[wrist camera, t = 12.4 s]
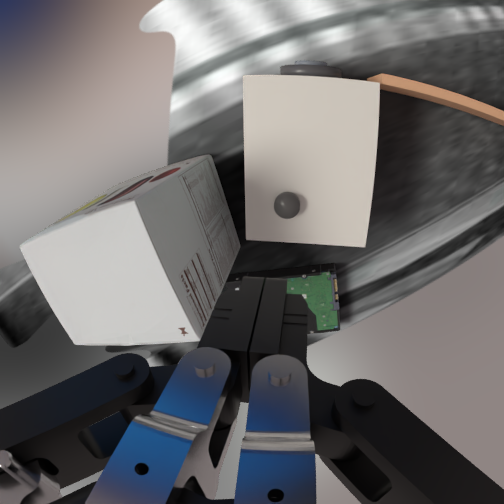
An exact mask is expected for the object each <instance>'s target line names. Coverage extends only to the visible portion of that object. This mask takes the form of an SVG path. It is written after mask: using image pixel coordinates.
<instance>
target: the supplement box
mask: <svg viewBox="0 0 504 504" xmlns="http://www.w3.org/2000/svg"><path fill="white" fill-rule="evenodd" d="M20 249H21V251H22V253H23V256H24V258H25V260H26V262H27V264H28V266H29V268H30V270H31V271H32V273H33V275H34V277H35V279H36V281H37V283H38V285H39V287H40V289H41V290H42V292H43V294H44V296H45V298H46V299H47V301H48V303H49V304H50V306H51V308H52V310H53V311H54V313H55V315H56V316H57V318H58V319H59V321H60V322H61V324H62V326H63V327H64V329H65V330H66V332H67V333H68V335H69V336H70V338H71V339H72V341H73V343H74V344H76V345H123V346H127V345H142V344H162V343H178V342H192V341H200V339H201V337H202V335H203V332H204V330H205V327H206V325H207V323H208V320H209V318H210V316H211V313H212V311H213V310H214V306H215V304H216V301H217V299H218V297H219V296H220V294H221V291H222V289H223V287H224V284H225V282H226V280H227V277H228V275H229V273H230V270H231V268H232V265H233V263H234V261H235V258H236V256H237V254H238V251H239V249H240V242H239V239H238V236H237V233H236V230H235V226H234V223H233V220H232V217H231V214H230V211H229V208H228V205H227V201H226V198H225V195H224V192H223V189H222V186H221V183H220V180H219V177H218V173H217V170H216V167H215V164H214V161H213V158H212V156H211V155H203V156H198V157H195V158H191V159H187V160H184V161H181V162H178V163H174V164H171V165H168V166H165V167H162V168H160V169H156V170H154V171H151V172H148V173H146V174H143V175H140V176H137V177H135V178H132V179H130V180H127V181H125V182H122V183H120V184H118V185H116V186H114V187H112V188H110V189H108V190H107V191H105V192H103V193H102V194H100V195H98V196H97V197H95V198H93V199H92V200H90V201H88V202H87V203H85V204H84V205H82V206H80V207H79V208H77V209H75V210H74V211H72V212H70V213H69V214H67V215H66V216H64V217H62V218H61V219H59V220H58V221H56V222H55V223H53V224H52V225H50V226H49V227H47V228H45V229H44V230H42V231H41V232H40V233H38V234H37V235H35V236H33V237H31V238H30V239H28V240H27V241H25V242H24V243H23V244H21V245H20Z"/></svg>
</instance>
